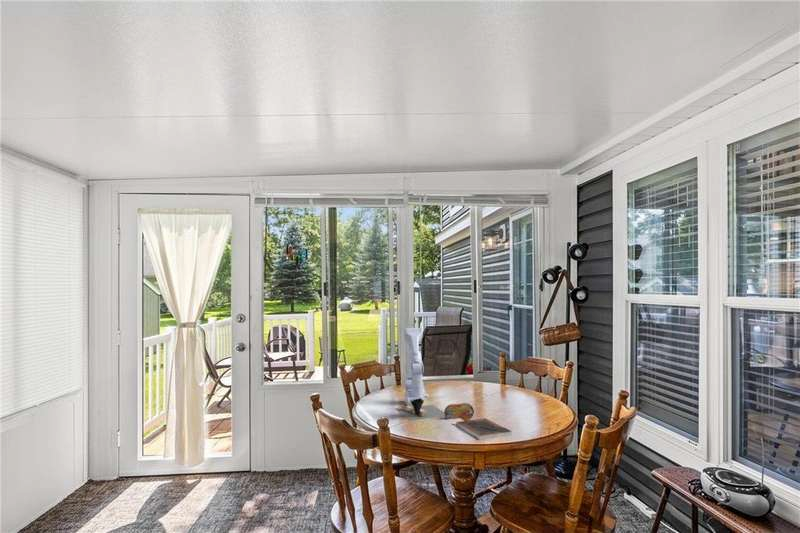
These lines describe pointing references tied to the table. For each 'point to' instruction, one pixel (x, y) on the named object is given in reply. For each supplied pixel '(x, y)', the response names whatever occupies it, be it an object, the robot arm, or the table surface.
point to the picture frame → (483, 428)
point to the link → (411, 409)
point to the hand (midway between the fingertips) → (417, 414)
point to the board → (431, 413)
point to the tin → (459, 411)
